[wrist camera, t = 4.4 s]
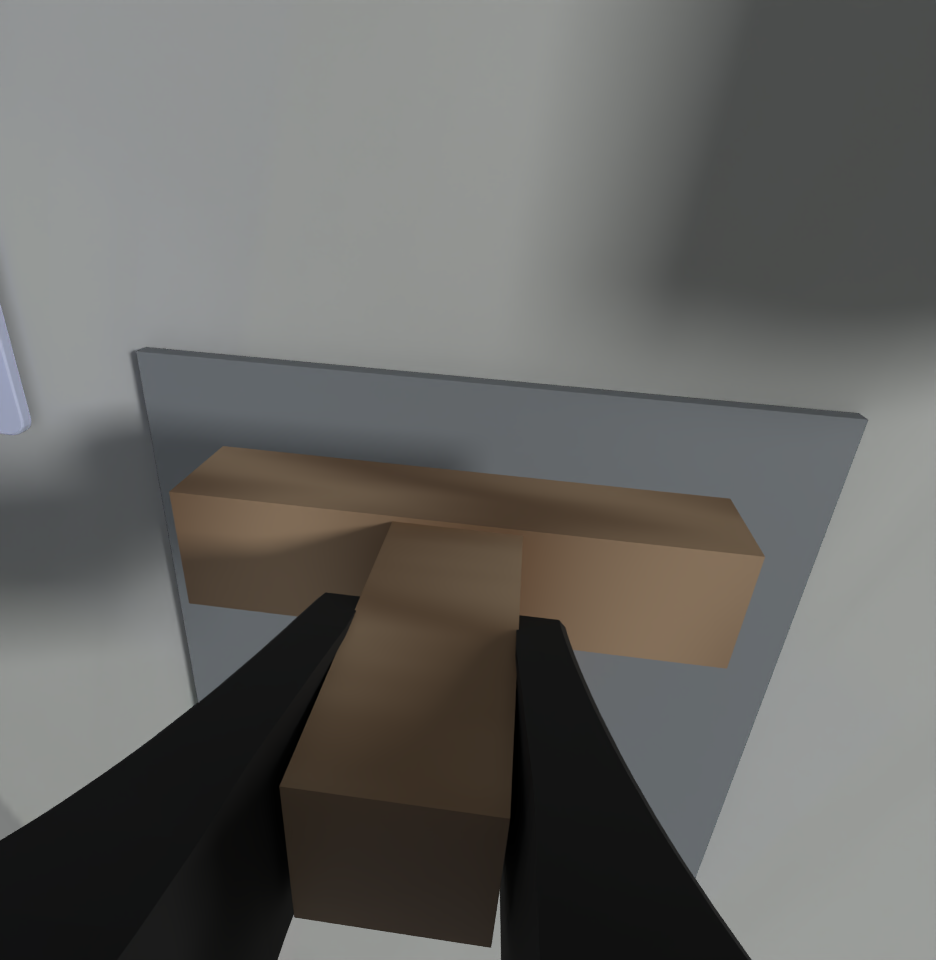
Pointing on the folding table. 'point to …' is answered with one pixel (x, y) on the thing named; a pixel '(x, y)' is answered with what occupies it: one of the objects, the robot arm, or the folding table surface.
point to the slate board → (552, 456)
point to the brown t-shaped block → (442, 648)
